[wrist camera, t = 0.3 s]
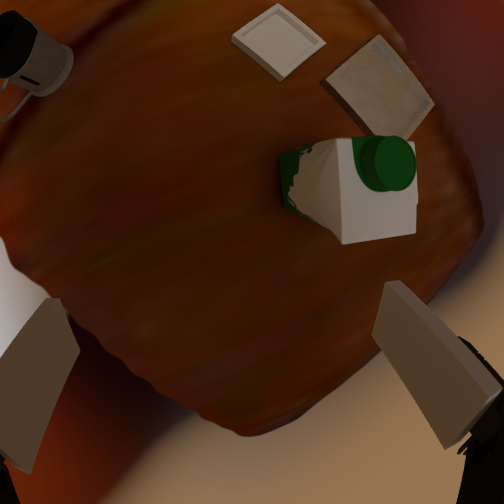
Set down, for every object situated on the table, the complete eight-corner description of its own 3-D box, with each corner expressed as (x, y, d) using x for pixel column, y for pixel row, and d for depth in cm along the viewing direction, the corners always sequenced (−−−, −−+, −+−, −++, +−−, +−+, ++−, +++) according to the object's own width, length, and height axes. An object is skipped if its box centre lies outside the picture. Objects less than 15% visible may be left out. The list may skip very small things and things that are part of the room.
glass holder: (81, 41, 25) (35, -3, 11) (56, 131, 29) (-10, 119, 15) (37, 48, 24) (-14, 17, 9) (14, 133, 27) (-51, 127, 13)
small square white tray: (231, 41, 29) (232, 34, 27) (274, 10, 29) (278, 3, 27) (280, 82, 32) (284, 77, 30) (320, 48, 31) (326, 43, 29)
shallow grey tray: (319, 83, 33) (325, 79, 31) (372, 38, 31) (379, 34, 29) (384, 157, 37) (392, 157, 35) (426, 105, 36) (434, 104, 34)
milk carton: (332, 145, 36) (435, 134, 17) (336, 209, 38) (436, 247, 19) (270, 148, 35) (340, 127, 16) (276, 216, 37) (347, 264, 18)
